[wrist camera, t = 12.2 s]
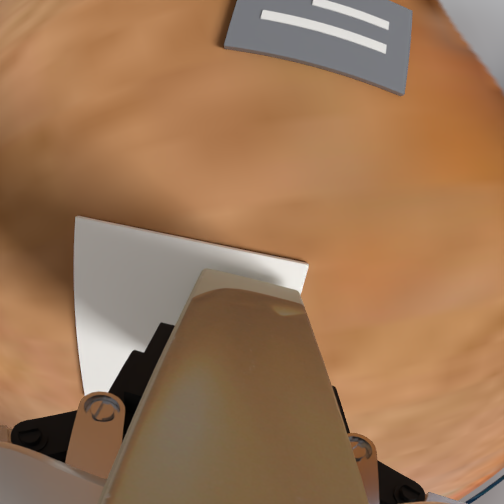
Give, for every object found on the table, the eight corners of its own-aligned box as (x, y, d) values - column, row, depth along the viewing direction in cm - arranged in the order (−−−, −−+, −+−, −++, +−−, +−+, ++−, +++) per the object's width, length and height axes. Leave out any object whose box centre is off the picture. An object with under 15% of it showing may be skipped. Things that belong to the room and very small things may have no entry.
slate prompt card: (409, 13, 10) (412, 10, 9) (400, 96, 11) (404, 94, 11) (249, -33, 9) (249, -37, 9) (224, 48, 11) (223, 45, 10)
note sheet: (307, 262, 14) (308, 264, 13) (251, 437, 17) (251, 441, 17) (78, 215, 13) (75, 216, 13) (87, 397, 16) (85, 400, 16)
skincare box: (264, 393, 15) (272, 629, 3) (180, 376, 14) (117, 609, 3) (304, 282, 13) (414, 607, 1) (202, 258, 13) (55, 594, 1)
